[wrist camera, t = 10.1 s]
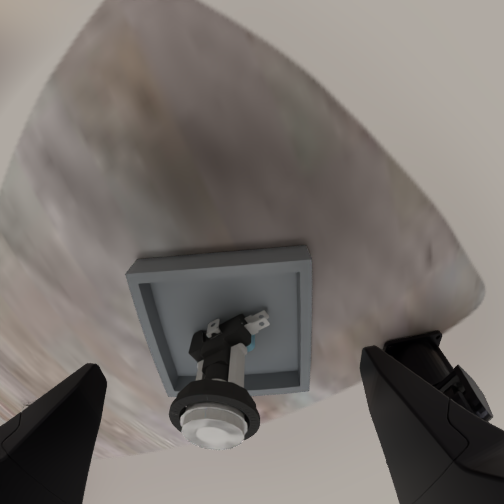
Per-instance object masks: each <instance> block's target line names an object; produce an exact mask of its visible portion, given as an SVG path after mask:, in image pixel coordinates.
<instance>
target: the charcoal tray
mask: <svg viewBox="0 0 504 504" xmlns="http://www.w3.org/2000/svg"><path fill="white" fill-rule="evenodd" d="M125 275H126V278H127V282H128V285H129V289H130V292H131V295H132V299H133V302H134V305H135V308H136V311H137V315H138V318H139V321H140V324H141V327H142V330H143V333H144V335H145V338H146V341H147V344H148V347H149V349H150V352H151V355H152V357H153V360H154V363H155V365H156V368H157V370H158V373H159V375H160V378H161V380H162V383H163V385H164V388H165V390H166V392H167V395H168V397H177V394H178V393H179V392H180V391H181V390H182V389H183V388H184V387H186V386H187V385H188V384H189V383H190V382H192V381H196V376H197V371H198V368H197V364H198V362H197V361H196V360H195V359H194V358H193V357H192V356H191V355H190V354H189V353H188V352H189V348H190V344H191V341H192V337H193V335H194V333H196V332H198V331H200V330H202V331H203V332H204V333H205V332H206V331H207V328H208V324H209V323H210V322H212V321H214V320H216V319H220V322H219V325H220V324H222V323H224V322H226V321H228V320H230V319H232V318H234V317H236V316H237V315H239V314H243V315H244V316H245V318H246V317H248V316H250V315H251V316H254V315H255V314H257V313H259V312H261V311H263V310H264V311H266V313H267V314H268V315H269V318H268V319H267V320H268V322H269V323H270V325H269V326H267V327H265V328H263V329H261V330H259V332H258V333H256V334H255V348H254V349H253V350H252V351H250V352H248V353H247V354H246V355H245V367H244V388H245V389H246V390H247V391H248V393H249V394H250V396H261V395H275V394H287V393H297V392H306V391H309V385H310V364H311V333H312V258H311V256H310V254H309V251H308V249H307V247H306V245H301V246H289V247H277V248H265V249H253V250H241V251H229V252H217V253H205V254H194V255H182V256H170V257H158V258H147V259H137V260H136V261H135V263H134V264H133V265H132V266H131V267H130V269H129V270H128V271H127V272H126V274H125ZM263 317H264V316H263V315H259V318H260V319H261V318H263ZM215 324H216V323H214V324H213V325H212V326H211V327H213V326H214V325H215ZM259 325H261V326H263V325H264V322H260V323H259Z"/></svg>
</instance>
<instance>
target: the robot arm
mask: <svg viewBox="0 0 504 504" xmlns="http://www.w3.org/2000/svg"><path fill="white" fill-rule="evenodd" d="M441 338H442V334H441V332H440V331H435V332H431V333H427V334H422V335H418V336H413V337H408V338H403V339H398V340H393V341H389V342H387V343H386V344H385V345H384V349H383V350H381V349H380V348H379V347H377V346H375V345H373V346H368V347H364V348H363V350H362V355H361V362H360V372H361V377H362V381H363V385H364V389H365V394H366V398H367V403H368V407H369V411H370V414H371V417H372V420H373V423H374V426H375V429H376V432H377V434H378V437H379V440H380V443H381V446H382V449H383V452H384V455H385V458H386V463H387V465H388V468H389V470H390V474H391V477H392V480H393V483H394V487H395V490H396V493H397V497H398V500H399V503H400V504H504V431H503V430H502V429H500V428H498V427H496V426H494V425H492V424H490V423H489V422H488V421H489V420H491V419H492V418H493V415H492V412H491V410H490V407H489V405H488V403H487V401H486V398H485V396H484V394H483V393H482V391H481V390H480V389H479V387H478V386H477V384H476V383H475V381H474V380H473V379H472V378H471V377H470V376H469V375H468V374H467V373H466V372H465V371H464V370H463V369H462V368H461V367H460V366H459V365H457V366H456V367H455V368H454V369H453V367H452V366H451V365H450V363H449V362H448V360H447V359H446V357H445V356H444V354H443V353H442V351H441V350H440V348H439V344H440V341H441ZM389 346H390V347H389ZM106 388H107V381H106V378H105V377H104V375H103V373H102V371H101V369H100V367H99V366H98V365H97V364H93V363H87V364H85V365H84V366H82V367H81V368H80V369H78V370H77V371H76V372H74V373H73V374H72V375H70V376H69V377H67V378H66V379H65V380H63V381H62V382H61V383H59V384H58V385H57V386H55V387H54V388H52V389H51V390H50V391H48V392H47V393H46V394H44V395H43V396H42V397H40V398H39V399H38V400H36V401H35V402H34V403H32V404H31V405H29V406H28V407H27V408H25V409H24V410H23V411H22V412H20V413H19V414H17V415H16V416H15V417H13V418H12V419H10V420H9V421H8V422H6V423H5V424H3V425H2V426H0V504H82V502H83V496H84V491H85V486H86V481H87V476H88V471H89V467H90V463H91V458H92V454H93V450H94V446H95V442H96V438H97V434H98V430H99V426H100V422H101V417H102V411H103V405H104V399H105V394H106Z"/></svg>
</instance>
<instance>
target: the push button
mask: <svg viewBox="0 0 504 504" xmlns="http://www.w3.org/2000/svg"><path fill="white" fill-rule="evenodd" d="M259 315H263V316H264V317H263V318H261V319H260V318H259ZM268 318H269V315H268V314H267V313H266V311H264V310H263V311H261V312H259V313H257V314H255V315H254V316H251V315H250V316H248V317H246V318H245V316H244V315H243V314H239V315H237V316H236V317H234V318H232V319H230V320H228V321H226V322H224V323H222V324H220V325H219V322H220V319H216V320H214V321H212V322H210V323H209V324H208V328H207V331H206V332H205V333H204V332H203V331H202V330H200V331H198V332H196V333H194V335H193V337H192V341H191V344H190V348H189V352H188V353H189V354H190V355H191V356H192V357H193V358H194V359H195V360H196V361H197V362H198V364H197V368H198V371H197V376H196V381H192V382H190V383H189V384H188V385H187V386H186V387H184V388H183V389H182V390H181V391H180V392H179V393H178V394H177V398H176V399H175V400H174V401H173V402H172V404H171V407H170V411H169V417H170V420H171V422H172V424H173V425H174V426H175V427H176V428H177V429H178V430H179V431H180V432H182V435H183V436H184V437H185V439H186V440H188V441H189V442H190V443H192V444H194V445H196V446H199V447H202V448H205V449H213V450H224V449H231V448H233V447H236V446H238V445H240V444H241V442H242V441H243V440H246V439H248V438H249V437H251V436H253V435H254V434H255V433H256V432H257V430H258V429H259V426H260V415H259V413H258V411H257V409H256V404H255V402H254V401H253V399H252V397H251V396H250V394H249V393H248V391H247V390H246V389H245V388H244V367H245V355H246V354H247V353H248V352H250V351H252V350H253V349H254V348H255V334H256V333H258V332H259V330H261V329H263V328H265V327H267V326H269V325H270V323H269V322H268V320H267V319H268ZM260 322H264V325H263V326H261V325H259V323H260ZM214 323H216V324H215V325H214V326H213V327H211V326H212V325H213V324H214ZM185 406H187V407H185Z"/></svg>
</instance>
